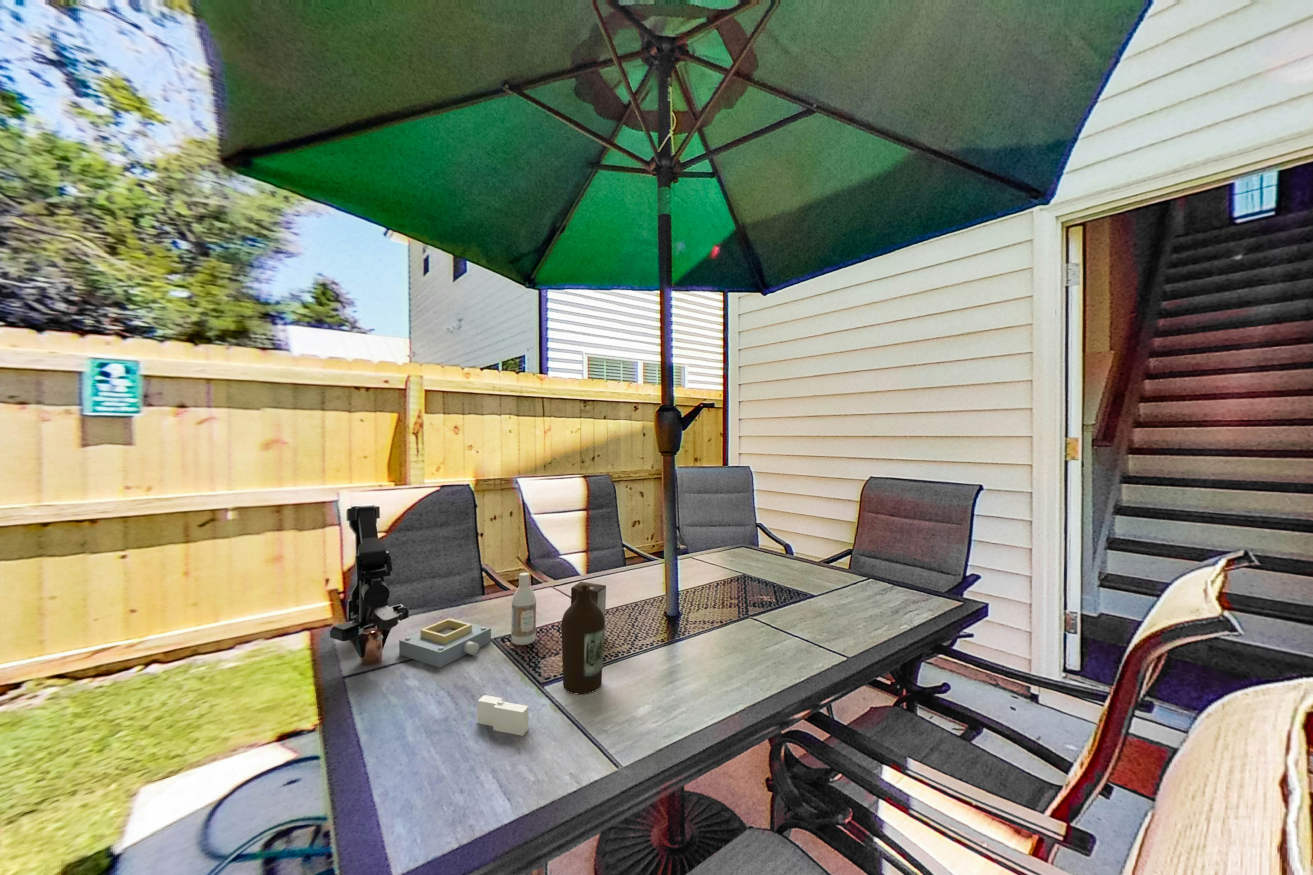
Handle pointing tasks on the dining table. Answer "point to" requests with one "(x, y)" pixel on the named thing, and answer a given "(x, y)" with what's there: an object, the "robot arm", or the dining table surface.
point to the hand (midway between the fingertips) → (371, 653)
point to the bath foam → (523, 613)
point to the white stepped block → (503, 715)
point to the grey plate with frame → (445, 642)
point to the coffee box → (593, 596)
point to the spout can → (372, 647)
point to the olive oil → (582, 643)
